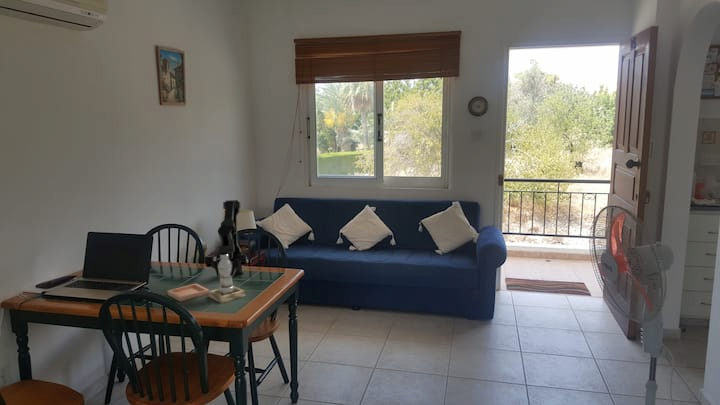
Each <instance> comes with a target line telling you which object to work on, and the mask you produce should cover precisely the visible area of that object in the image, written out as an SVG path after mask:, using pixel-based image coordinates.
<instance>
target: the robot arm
mask: <svg viewBox="0 0 720 405" xmlns="http://www.w3.org/2000/svg"><path fill="white" fill-rule="evenodd" d="M222 205H223V210H224V218H223V220H222V221H221V223H220V226H219V228H218V229H217V234H218V238H219V240H220V246H218V257H219V258H218V257H217V258H216V257H214V255H209V256H205V257H204V259H203V262H204V265H205V267H206V268H212V269H214V271H215V273H216V277H217V278H218V279H220V277H219V271H218V263H219V261H220V260H221V259H220V254H222V253H229V258H228V259H229V260H230V261H231V262H232V278H233V277H236V276H240V275H244V274H245V273H244V272H243V267H242V266H246V265H248V257H247V254H245V253H244V254H243V251H242V250H241V248H240V246H239V244H238V216H239V214H240V210H241V208H242V207H241V201H239V200H238V199H234V200H225V201H222Z"/></svg>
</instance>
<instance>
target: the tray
mask: <svg viewBox="0 0 720 405" xmlns="http://www.w3.org/2000/svg"><path fill="white" fill-rule="evenodd" d="M208 291H211V290H210V289H208V288H206V287H204V286H202V285H200V284H198V283H193V284H189V285H184V286H180V287H177V288H172V289H167V295H168V296H169V297H171V298H173V299H175V300H176V301H179V303H180V302H181V303H182V302H184V301H189V300H192V299H196V298H201V297H204V296H207V295H208V296H209V293H208Z"/></svg>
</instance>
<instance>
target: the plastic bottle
mask: <svg viewBox="0 0 720 405" xmlns="http://www.w3.org/2000/svg"><path fill="white" fill-rule="evenodd" d="M228 258H229V253H222V254H220V257H219V259H221V260H220V261H219V263H218V271H219V288H218V289H219V293H220V295H222V296H224V295H228V294H231V293H234V286H235V285H234V284H233V277H232V262H231V261H230V260H229V259H228Z"/></svg>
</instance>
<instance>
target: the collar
mask: <svg viewBox="0 0 720 405" xmlns="http://www.w3.org/2000/svg"><path fill="white" fill-rule="evenodd" d="M233 286H234V293H231V294H228V295H224V296H222V295H220V293H219V288H216V289H212V290H210V291H208V293H209V294H208V298H211V299H213V300H215V301H216V302H219V303H221V304H222V303H225V302H230V301H234V300H236V299H239V298H243V297H246V290H244V289H242V288H239V287H237V286H235V285H233Z"/></svg>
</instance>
